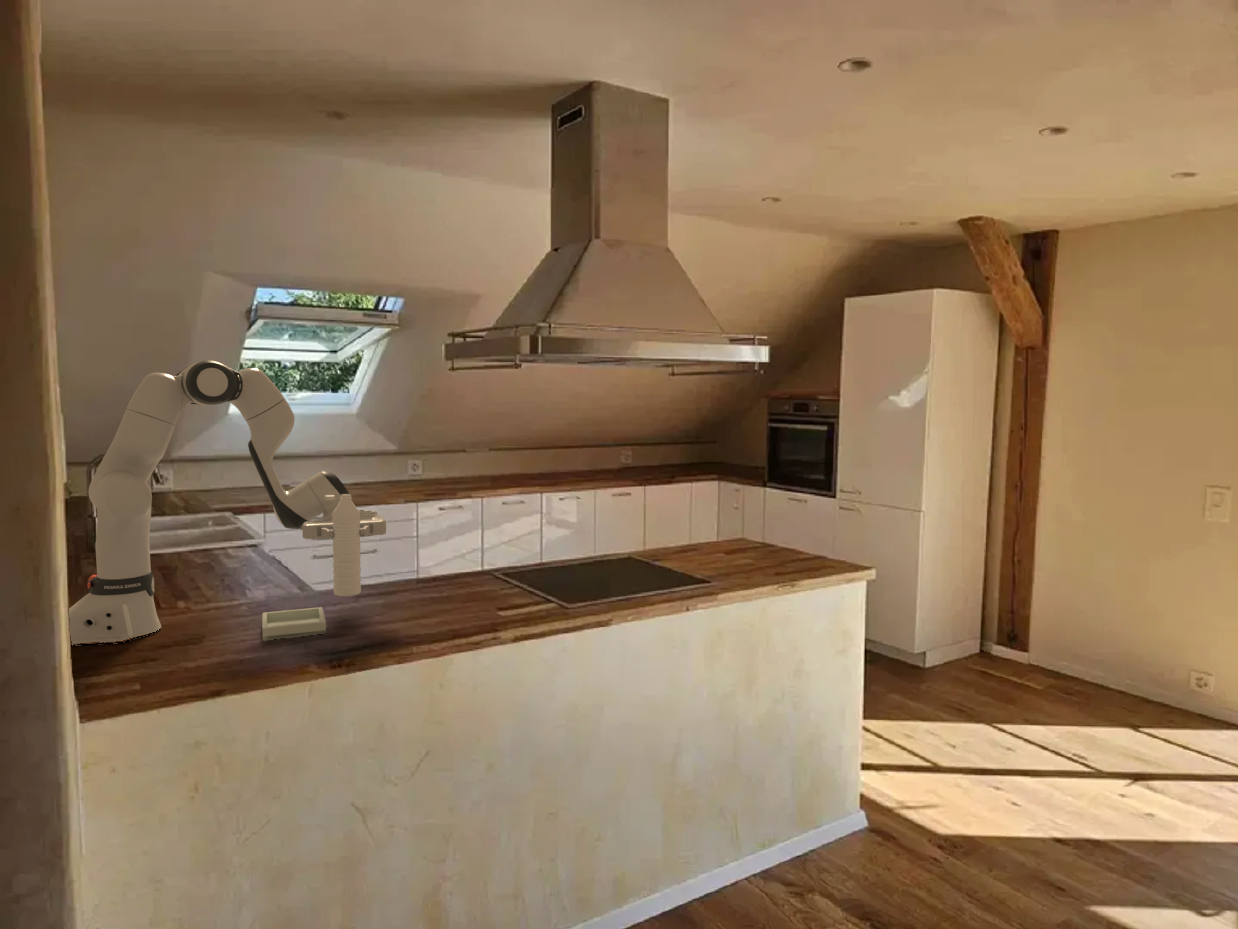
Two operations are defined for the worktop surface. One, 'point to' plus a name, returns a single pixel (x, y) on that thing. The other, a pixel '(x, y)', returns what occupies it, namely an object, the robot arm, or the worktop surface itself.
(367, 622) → the worktop surface
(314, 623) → the sage tray
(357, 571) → the water bottle
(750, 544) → the worktop surface
